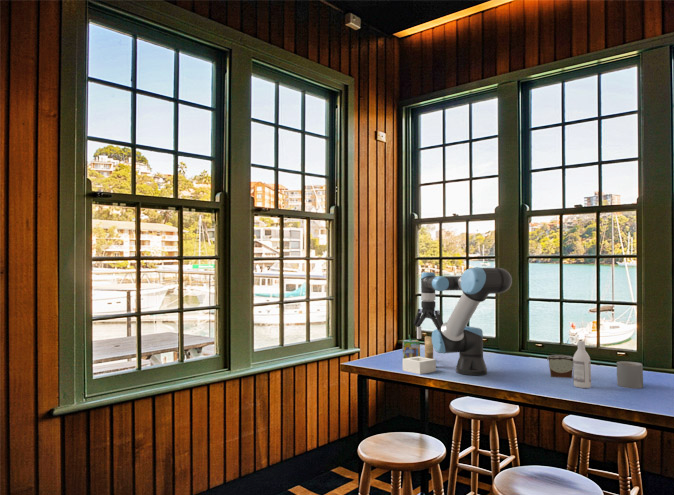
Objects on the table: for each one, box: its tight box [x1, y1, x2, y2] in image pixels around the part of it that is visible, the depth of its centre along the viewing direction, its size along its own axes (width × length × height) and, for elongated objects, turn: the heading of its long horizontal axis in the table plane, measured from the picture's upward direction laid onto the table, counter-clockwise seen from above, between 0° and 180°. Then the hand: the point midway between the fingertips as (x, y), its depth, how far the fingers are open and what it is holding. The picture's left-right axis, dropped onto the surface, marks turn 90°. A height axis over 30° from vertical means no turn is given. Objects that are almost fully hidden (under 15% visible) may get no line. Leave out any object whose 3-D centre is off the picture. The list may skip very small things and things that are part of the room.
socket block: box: [402, 356, 437, 375], centre depth 249 cm, size 12×12×6 cm
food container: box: [547, 354, 574, 379], centre depth 236 cm, size 12×6×10 cm, turn 74°
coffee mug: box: [616, 360, 644, 390], centre depth 217 cm, size 13×10×10 cm
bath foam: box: [572, 340, 592, 389], centre depth 215 cm, size 7×7×20 cm
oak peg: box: [424, 335, 434, 359], centre depth 260 cm, size 4×4×16 cm
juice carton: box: [401, 334, 421, 360], centre depth 279 cm, size 9×9×15 cm
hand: (428, 340), depth 261 cm, fingers open, 13 cm apart
